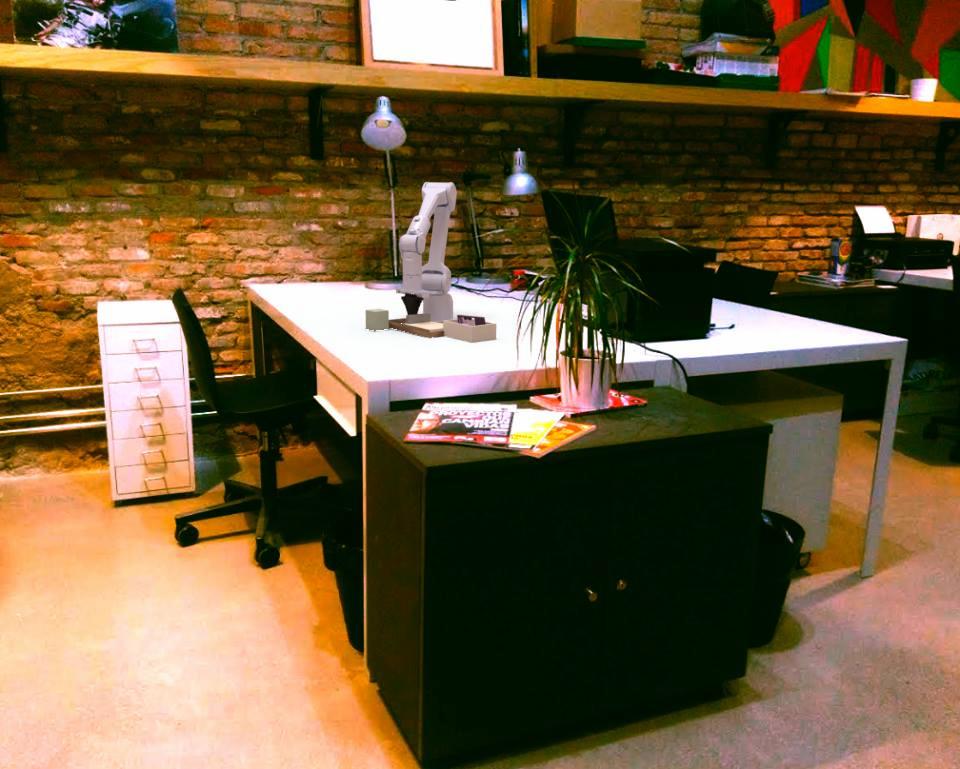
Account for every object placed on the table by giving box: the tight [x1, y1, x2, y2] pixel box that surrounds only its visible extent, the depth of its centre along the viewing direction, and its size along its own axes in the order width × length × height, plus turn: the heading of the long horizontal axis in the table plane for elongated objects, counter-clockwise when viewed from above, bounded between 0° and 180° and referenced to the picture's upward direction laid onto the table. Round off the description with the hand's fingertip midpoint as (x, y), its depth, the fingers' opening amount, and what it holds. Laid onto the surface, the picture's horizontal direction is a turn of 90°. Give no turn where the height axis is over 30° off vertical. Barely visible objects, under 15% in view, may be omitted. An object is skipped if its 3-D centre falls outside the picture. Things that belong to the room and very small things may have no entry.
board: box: [389, 317, 445, 339], centre depth 260 cm, size 11×27×2 cm, turn 40°
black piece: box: [456, 314, 487, 326], centre depth 248 cm, size 7×5×9 cm
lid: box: [405, 313, 443, 332], centre depth 255 cm, size 10×13×3 cm
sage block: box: [365, 308, 390, 332], centre depth 259 cm, size 5×5×6 cm
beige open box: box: [442, 318, 497, 343], centre depth 248 cm, size 9×13×4 cm
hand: (412, 319), depth 261 cm, fingers closed
